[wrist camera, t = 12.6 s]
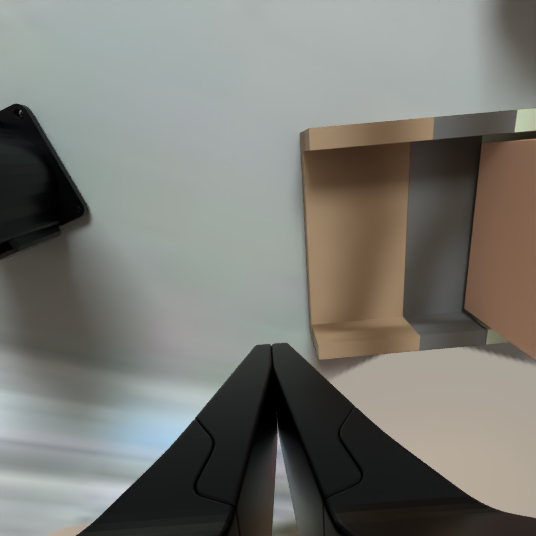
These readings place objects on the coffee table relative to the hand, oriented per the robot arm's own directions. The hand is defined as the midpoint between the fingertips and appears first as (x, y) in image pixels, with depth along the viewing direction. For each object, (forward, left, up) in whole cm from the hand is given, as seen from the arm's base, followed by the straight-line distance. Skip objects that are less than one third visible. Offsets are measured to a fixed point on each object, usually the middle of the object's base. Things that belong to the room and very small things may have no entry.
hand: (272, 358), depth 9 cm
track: (+4, +11, -13) cm, 18 cm away
